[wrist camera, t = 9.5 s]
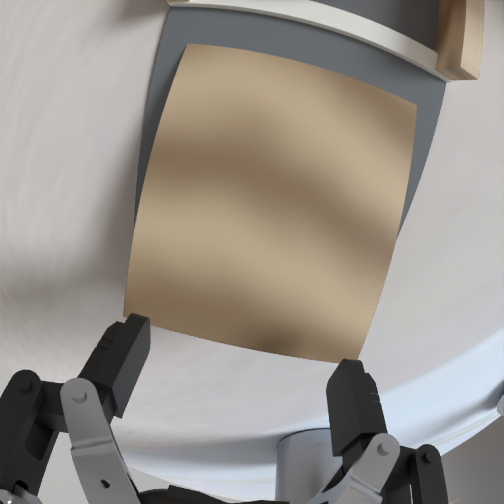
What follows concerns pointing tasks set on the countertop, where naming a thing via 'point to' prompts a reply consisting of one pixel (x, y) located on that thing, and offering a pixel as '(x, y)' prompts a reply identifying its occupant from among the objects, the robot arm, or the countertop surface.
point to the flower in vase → (501, 406)
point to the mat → (314, 53)
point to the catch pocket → (457, 38)
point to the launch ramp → (270, 205)
